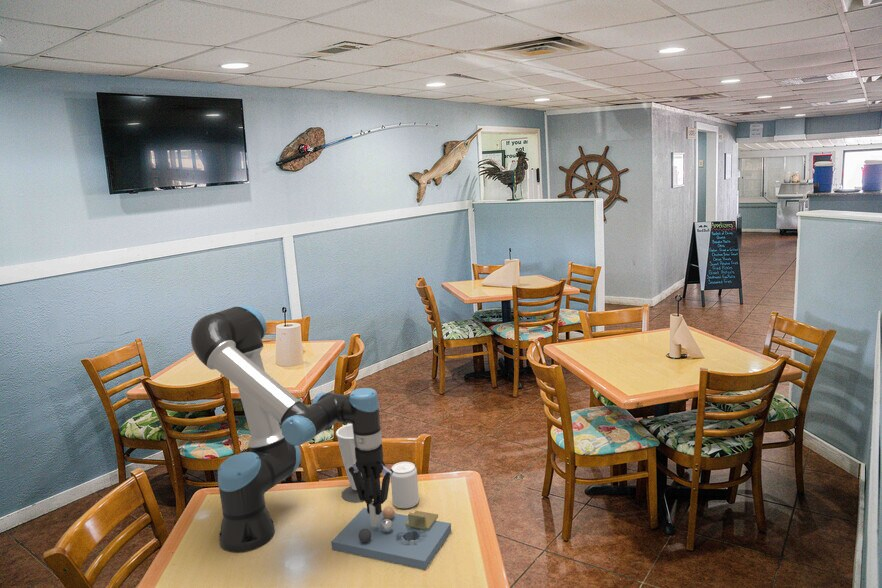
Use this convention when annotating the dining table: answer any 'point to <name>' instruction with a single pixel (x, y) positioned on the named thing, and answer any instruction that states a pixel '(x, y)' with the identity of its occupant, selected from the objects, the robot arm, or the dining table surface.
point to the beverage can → (404, 485)
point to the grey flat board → (392, 540)
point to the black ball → (364, 535)
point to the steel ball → (386, 525)
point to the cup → (348, 460)
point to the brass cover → (421, 520)
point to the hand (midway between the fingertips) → (375, 523)
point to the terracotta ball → (388, 512)
